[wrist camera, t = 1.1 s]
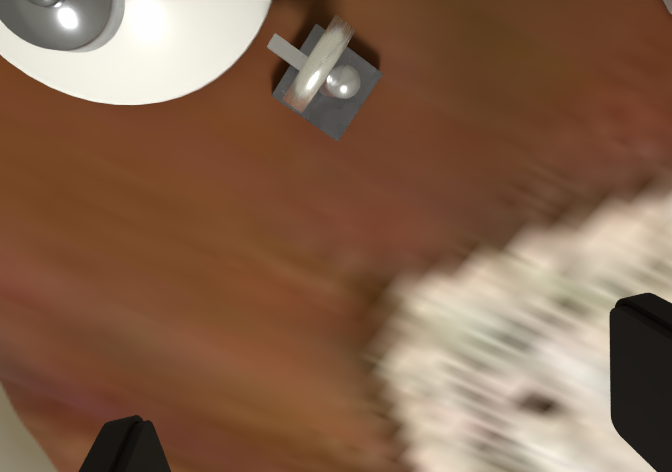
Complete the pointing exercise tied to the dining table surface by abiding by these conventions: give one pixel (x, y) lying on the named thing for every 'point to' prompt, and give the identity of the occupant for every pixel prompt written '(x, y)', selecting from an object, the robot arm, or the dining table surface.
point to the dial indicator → (325, 77)
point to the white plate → (148, 51)
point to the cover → (63, 22)
